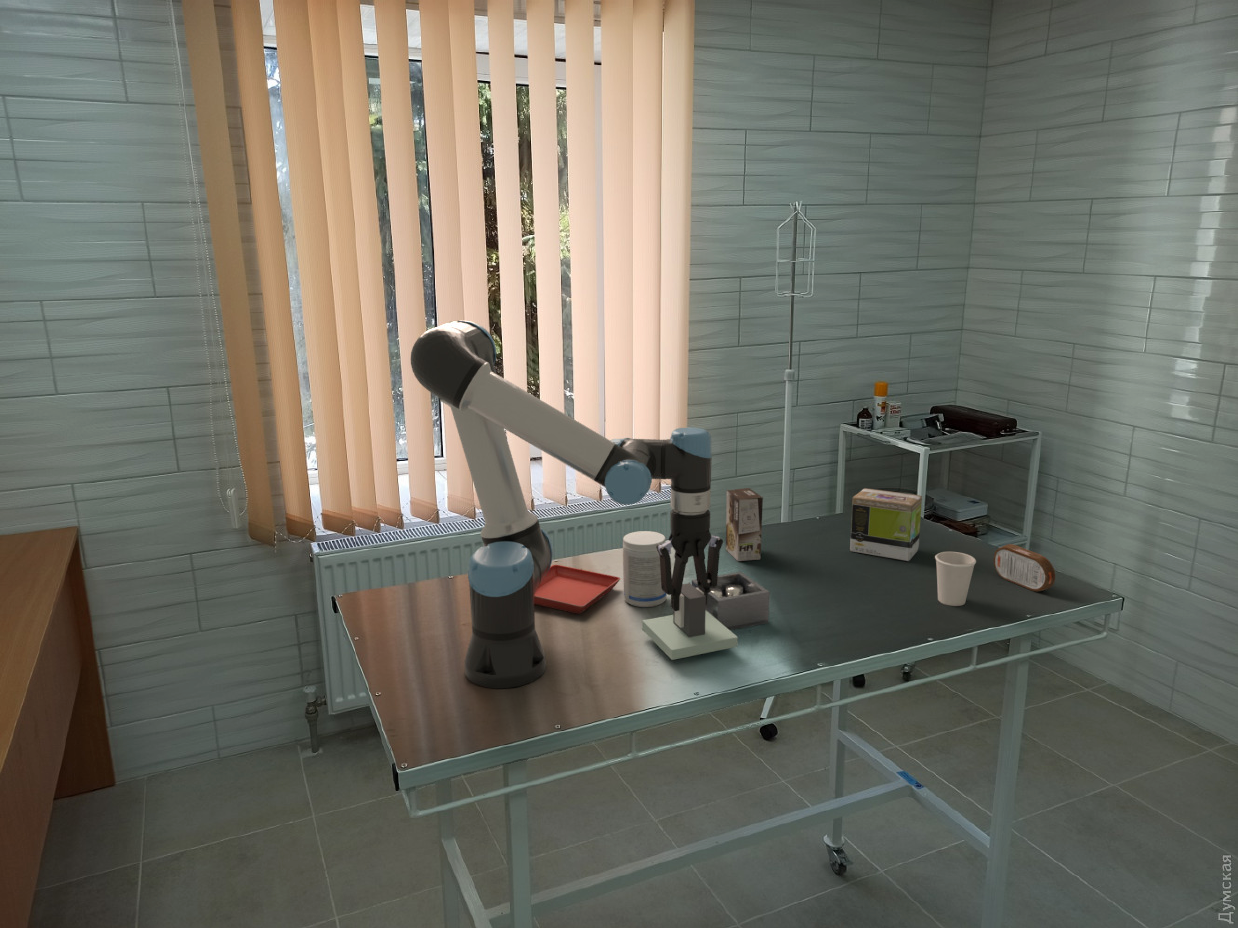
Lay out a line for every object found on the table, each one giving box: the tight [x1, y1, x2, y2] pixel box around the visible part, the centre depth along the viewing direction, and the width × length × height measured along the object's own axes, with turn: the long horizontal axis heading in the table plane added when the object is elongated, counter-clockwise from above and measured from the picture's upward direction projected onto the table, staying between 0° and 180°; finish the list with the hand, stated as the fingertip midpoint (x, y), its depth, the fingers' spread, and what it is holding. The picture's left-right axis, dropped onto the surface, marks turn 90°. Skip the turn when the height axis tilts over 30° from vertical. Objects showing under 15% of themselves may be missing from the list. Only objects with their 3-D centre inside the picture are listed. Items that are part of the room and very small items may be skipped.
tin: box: [993, 543, 1056, 592], centre depth 204 cm, size 15×3×8 cm, turn 27°
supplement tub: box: [622, 530, 668, 608], centre depth 197 cm, size 10×10×15 cm
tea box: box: [849, 487, 923, 562], centre depth 225 cm, size 15×10×15 cm, turn 58°
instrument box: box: [691, 571, 770, 631], centre depth 189 cm, size 12×12×7 cm
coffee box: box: [725, 487, 764, 562], centre depth 223 cm, size 9×6×16 cm
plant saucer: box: [534, 564, 621, 614], centre depth 201 cm, size 18×18×3 cm
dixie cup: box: [934, 551, 977, 607], centre depth 195 cm, size 8×8×10 cm
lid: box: [641, 582, 739, 661], centre depth 175 cm, size 14×14×10 cm
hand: (688, 622), depth 175 cm, fingers closed on lid, 3 cm apart
